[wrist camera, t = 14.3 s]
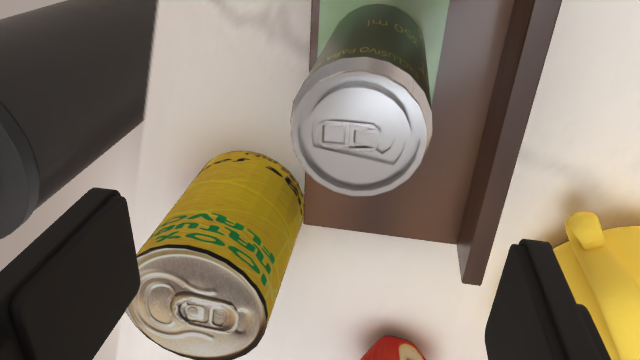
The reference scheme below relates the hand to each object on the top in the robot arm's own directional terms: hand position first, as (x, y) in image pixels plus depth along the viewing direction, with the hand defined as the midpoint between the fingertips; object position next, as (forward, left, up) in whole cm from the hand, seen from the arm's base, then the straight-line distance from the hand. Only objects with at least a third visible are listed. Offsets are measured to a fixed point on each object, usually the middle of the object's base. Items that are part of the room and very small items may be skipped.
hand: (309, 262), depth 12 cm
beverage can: (-8, -14, -23) cm, 28 cm away
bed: (+3, -3, -23) cm, 23 cm away
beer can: (+1, 0, -19) cm, 19 cm away
